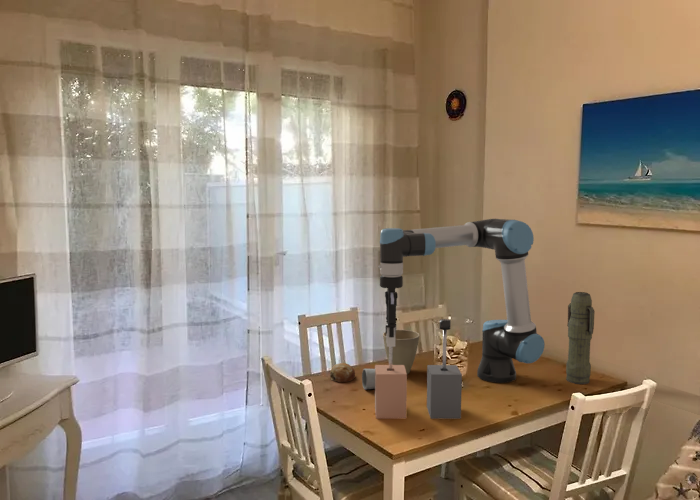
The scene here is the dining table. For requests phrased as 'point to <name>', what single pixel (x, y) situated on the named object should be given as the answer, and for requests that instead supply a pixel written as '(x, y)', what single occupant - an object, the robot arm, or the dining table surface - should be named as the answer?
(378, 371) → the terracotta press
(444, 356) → the charcoal plunger
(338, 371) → the bread roll
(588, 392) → the dining table surface
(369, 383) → the ceramic mug
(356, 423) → the dining table surface
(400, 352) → the plant pot
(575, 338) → the thermos
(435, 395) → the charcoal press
